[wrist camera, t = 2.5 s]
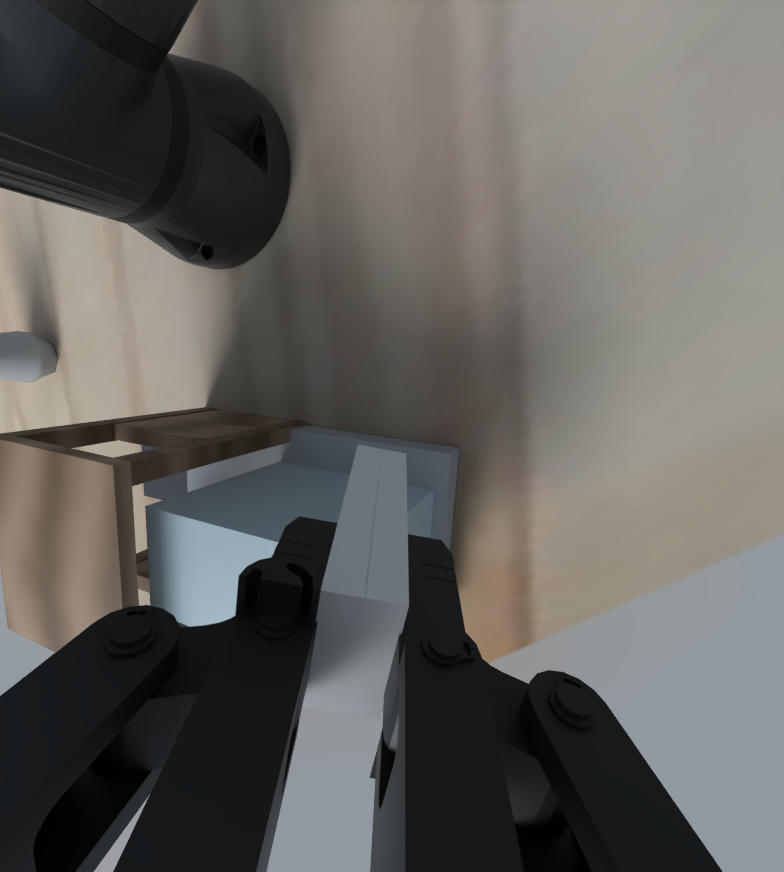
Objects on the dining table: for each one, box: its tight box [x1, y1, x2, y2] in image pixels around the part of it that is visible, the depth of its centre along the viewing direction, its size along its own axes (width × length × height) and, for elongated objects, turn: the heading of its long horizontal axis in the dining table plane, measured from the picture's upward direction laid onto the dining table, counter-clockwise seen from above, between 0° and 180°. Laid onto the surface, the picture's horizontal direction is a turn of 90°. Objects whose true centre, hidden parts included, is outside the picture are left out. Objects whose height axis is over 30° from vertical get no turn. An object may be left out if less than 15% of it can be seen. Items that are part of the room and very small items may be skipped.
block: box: [145, 461, 434, 627], centre depth 31 cm, size 14×7×13 cm, turn 85°
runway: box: [187, 426, 460, 551], centre depth 40 cm, size 26×13×2 cm, turn 85°
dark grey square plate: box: [142, 445, 188, 500], centre depth 48 cm, size 8×8×1 cm
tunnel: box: [0, 407, 307, 652], centre depth 35 cm, size 12×14×18 cm
